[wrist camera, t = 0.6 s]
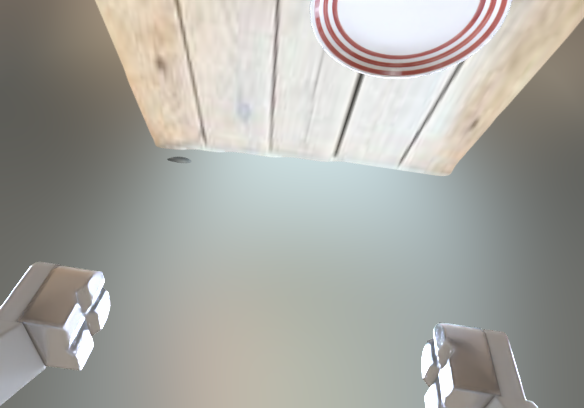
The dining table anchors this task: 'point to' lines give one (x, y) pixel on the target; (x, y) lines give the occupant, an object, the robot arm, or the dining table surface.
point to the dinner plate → (405, 33)
